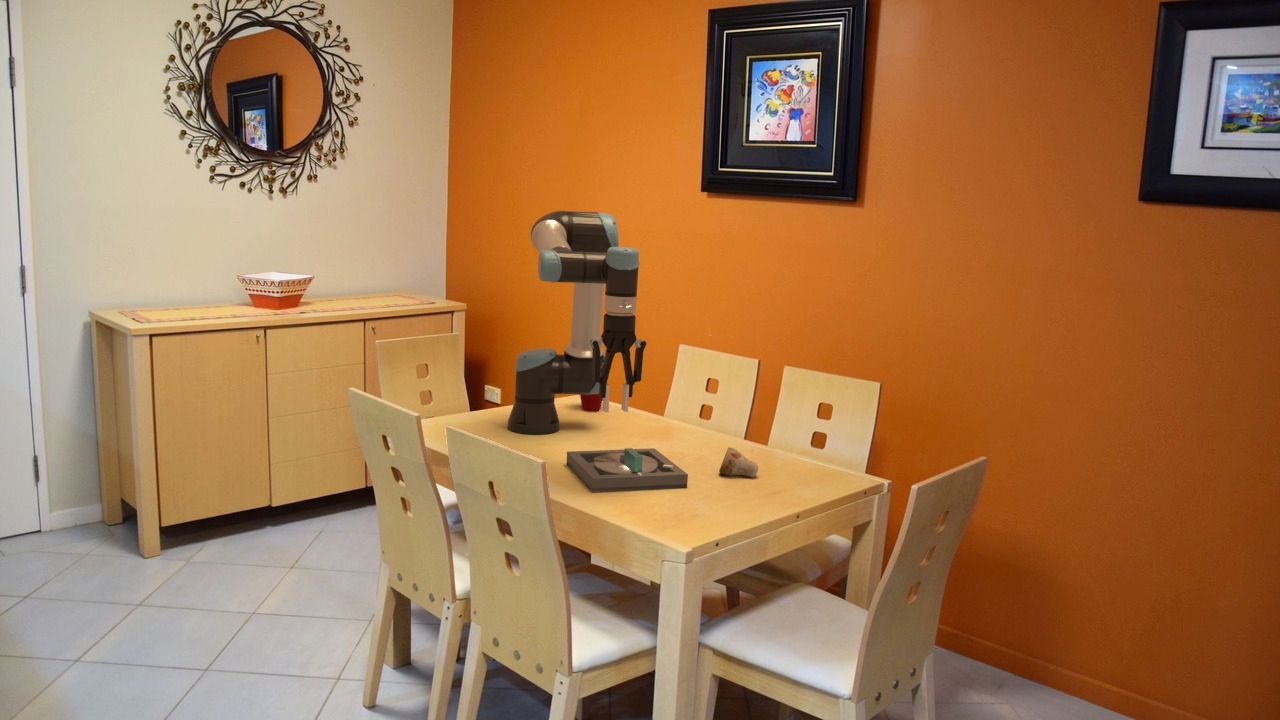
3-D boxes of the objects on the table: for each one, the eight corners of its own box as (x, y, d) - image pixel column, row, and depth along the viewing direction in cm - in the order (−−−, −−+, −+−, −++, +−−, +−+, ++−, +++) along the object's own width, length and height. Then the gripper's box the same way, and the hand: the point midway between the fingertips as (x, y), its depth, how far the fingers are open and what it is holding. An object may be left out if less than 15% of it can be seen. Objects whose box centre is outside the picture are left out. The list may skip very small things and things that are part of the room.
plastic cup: (601, 405, 321) (603, 370, 319) (612, 413, 311) (614, 376, 309) (569, 406, 317) (571, 370, 315) (580, 414, 307) (581, 377, 305)
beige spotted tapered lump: (760, 482, 245) (743, 449, 243) (725, 493, 249) (709, 460, 247) (764, 468, 252) (748, 435, 249) (731, 478, 256) (714, 447, 253)
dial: (585, 463, 248) (586, 439, 247) (644, 461, 253) (646, 437, 252) (605, 483, 232) (607, 458, 231) (668, 480, 237) (669, 455, 236)
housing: (566, 464, 251) (567, 450, 250) (653, 460, 259) (654, 446, 258) (592, 492, 228) (593, 477, 228) (687, 487, 236) (688, 472, 236)
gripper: (589, 315, 221) (584, 415, 225) (659, 316, 227) (654, 413, 231) (580, 311, 228) (576, 408, 232) (649, 311, 234) (643, 406, 238)
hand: (614, 410), depth 231 cm, fingers open, 4 cm apart
